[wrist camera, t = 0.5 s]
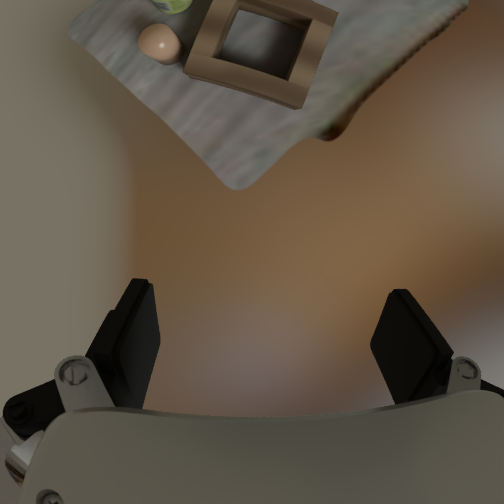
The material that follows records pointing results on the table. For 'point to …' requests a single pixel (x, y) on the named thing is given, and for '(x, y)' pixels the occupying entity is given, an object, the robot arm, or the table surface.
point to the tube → (172, 5)
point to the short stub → (161, 44)
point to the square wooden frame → (252, 81)
